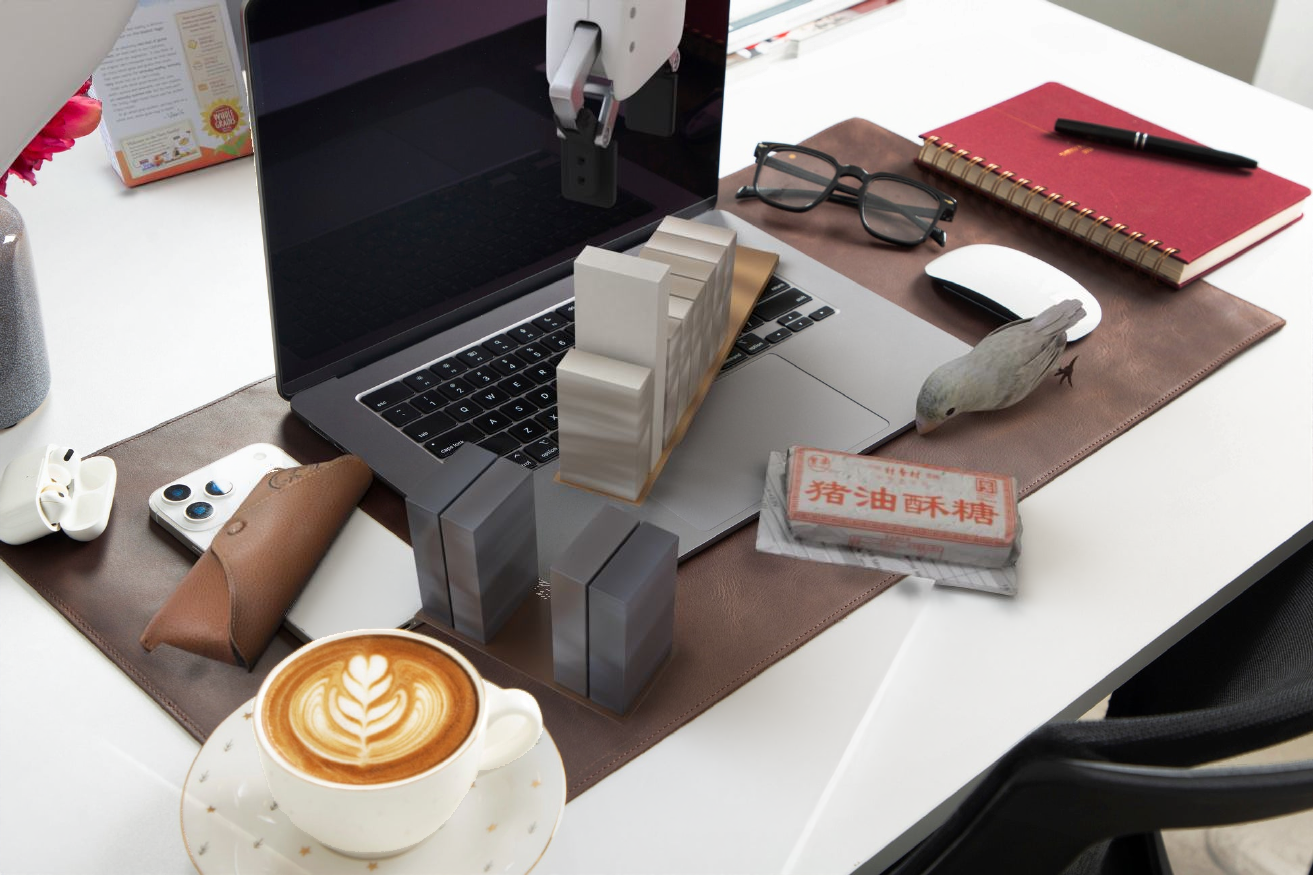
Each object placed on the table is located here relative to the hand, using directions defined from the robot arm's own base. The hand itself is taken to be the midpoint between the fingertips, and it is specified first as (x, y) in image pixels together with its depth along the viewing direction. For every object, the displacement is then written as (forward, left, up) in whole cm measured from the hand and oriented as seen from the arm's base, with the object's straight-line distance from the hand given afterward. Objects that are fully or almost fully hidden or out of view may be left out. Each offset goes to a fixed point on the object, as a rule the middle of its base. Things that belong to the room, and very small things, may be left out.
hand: (620, 164), depth 69 cm
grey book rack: (-16, -5, -25) cm, 31 cm away
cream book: (+1, 0, -24) cm, 24 cm away
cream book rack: (+14, +2, -25) cm, 29 cm away
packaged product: (+5, -20, -26) cm, 33 cm away
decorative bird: (+23, -22, -26) cm, 41 cm away
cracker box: (+16, +62, -26) cm, 69 cm away
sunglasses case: (-21, +15, -26) cm, 36 cm away
